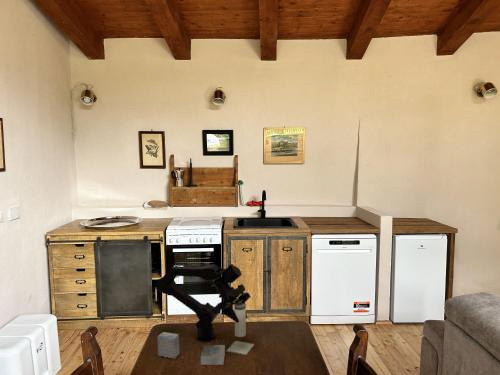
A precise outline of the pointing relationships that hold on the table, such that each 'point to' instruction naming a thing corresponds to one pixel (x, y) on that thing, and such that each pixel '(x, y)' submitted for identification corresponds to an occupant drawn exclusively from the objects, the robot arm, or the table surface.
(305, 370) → the table surface
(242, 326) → the plug
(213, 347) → the housing
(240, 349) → the mat
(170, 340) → the medicine box
